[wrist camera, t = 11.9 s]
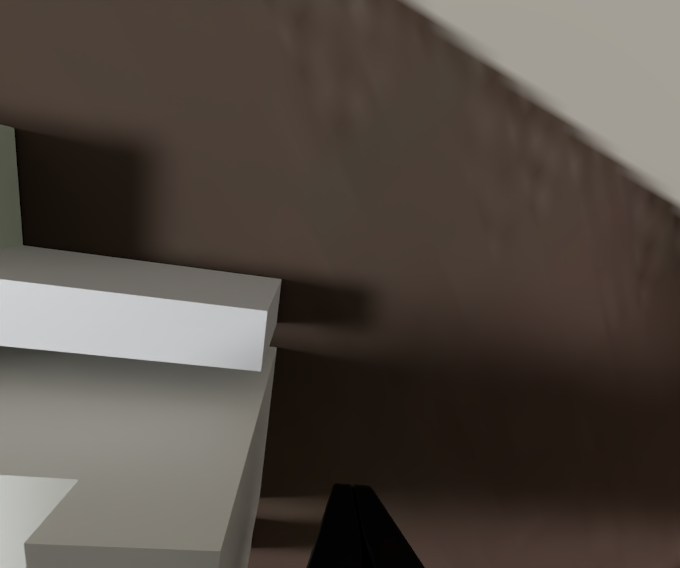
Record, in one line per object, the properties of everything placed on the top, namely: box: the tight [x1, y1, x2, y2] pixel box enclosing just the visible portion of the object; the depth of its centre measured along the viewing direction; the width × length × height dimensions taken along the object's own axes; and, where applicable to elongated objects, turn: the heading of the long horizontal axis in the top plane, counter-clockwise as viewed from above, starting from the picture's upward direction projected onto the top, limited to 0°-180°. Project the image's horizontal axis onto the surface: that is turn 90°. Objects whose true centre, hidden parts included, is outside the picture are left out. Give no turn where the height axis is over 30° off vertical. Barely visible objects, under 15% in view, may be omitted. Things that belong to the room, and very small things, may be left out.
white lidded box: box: [0, 346, 277, 568], centre depth 6 cm, size 5×6×5 cm
